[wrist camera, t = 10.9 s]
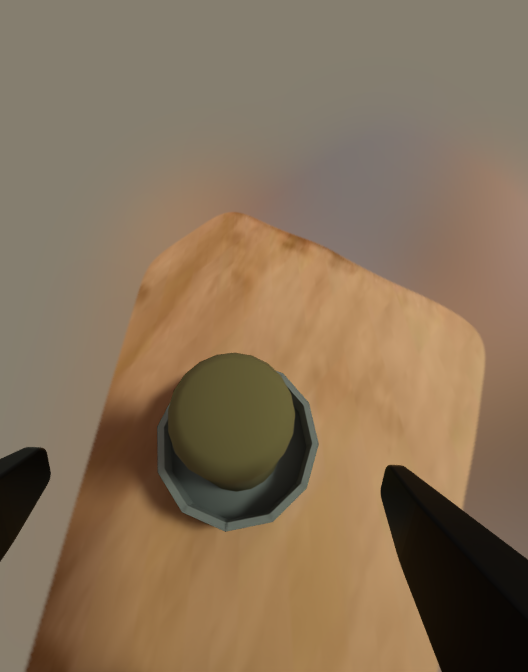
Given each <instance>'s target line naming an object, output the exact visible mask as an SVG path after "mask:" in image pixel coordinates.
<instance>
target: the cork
mask: <svg viewBox="0 0 528 672" xmlns="http://www.w3.org/2000/svg"><path fill="white" fill-rule="evenodd" d="M294 420H295V411H294V406H293V401H292V396H291V393H290V391H289V389H288V387H287V386H286V384H285V382H284V380H283V378H282V377H281V375H280V374H279V373H277V372H276V371H275V370H274V369H273V368H272V367H271V366H270V365H269V364H268V363H266V362H264V361H262V360H260V359H258V358H256V357H254V356H251V355H245V354H239V353H228V354H220V355H215V356H213V357H211V358H208V359H206V360H204V361H201V362H199V363H198V364H197V365H196V366H194V367H193V368H192V369H191V370H190V371H188V372H187V373H186V374H185V375H184V376H183V378H182V379H181V381H180V382H179V384H178V385H177V387H176V388H175V390H174V392H173V395H172V399H171V402H170V405H169V408H168V433H169V436H170V439H171V442H172V445H173V448H174V450H175V453H176V454H177V455H178V457H179V458H180V459H181V460H182V462H183V463H184V464H185V465H186V467H187V468H188V469H189V470H191V471H192V472H194V473H196V474H198V475H199V476H201V477H203V478H204V479H206V480H209V481H210V482H211V483H213V484H215V485H216V486H218V487H220V488H221V489H225V490H230V491H236V492H238V491H243V490H249V489H252V488H254V487H256V486H258V485H259V484H261V483H263V482H264V481H265V480H266V479H267V478H268V477H269V476H270V475H271V473H272V472H273V471H274V469H275V467H276V465H277V463H278V460H279V459H280V458H281V457H282V456H283V454H284V453H285V451H286V449H287V446H288V444H289V442H290V440H291V437H292V435H293V429H294Z"/></svg>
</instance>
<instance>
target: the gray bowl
mask: <svg viewBox="0 0 528 672" xmlns="http://www.w3.org/2000/svg"><path fill="white" fill-rule="evenodd" d="M276 372H277V373H279V374H280V375H281V377H282V378H283V380H284V382H285V384H286V386H287V387H288V389H289V391H290V393H291V396H292V401H293V406H294V411H295V420H294V429H293V435H292V437H291V440H290V442H289V444H288V446H287V449H286V451H285V453H284V454H283V456H282V457H281V458H280V459H279V460H278V463H277V465H276V467H275V469H274V471H273V472H272V473H271V475H270V476H269V477H268V478H267V479H266V480H265V481H264V482H263V483H261V484H259V485H258V486H256V487H254V488H252V489H249V490H243V491H238V492H236V491H230V490H225V489H221V488H220V487H218V486H216V485H215V484H213V483H211V482H210V481H209V480H206V479H204V478H203V477H201V476H199V475H198V474H196V473H194V472H192V471H191V470H189V469H188V468H187V467H186V465H185V464H184V463H183V462H182V460H181V459H180V458H179V457H178V455H177V454H176V453H175V450H174V448H173V445H172V442H171V439H170V436H169V433H168V408H169V406H168V407H167V409H166V411H165V413H164V415H163V417H162V419H161V421H160V423H159V425H158V426H157V444H158V474H159V475H160V477H161V478H162V480H163V482H164V483H165V485H166V487H167V488H168V490H169V492H170V493H171V495H172V496H173V498H174V500H175V501H176V503H177V505H178V506H179V508H180V509H181V511H182V512H183V513H185V514H187V515H189V516H192V517H194V518H196V519H198V520H201V521H203V522H205V523H207V524H210V525H212V526H214V527H216V528H219V529H221V530H223V531H225V532H226V531H231V530H236V529H241V528H246V527H250V526H255V525H260V524H265V523H270V522H273V521H274V520H275V519H276V518H277V517H278V516H279V515H280V514H281V513H282V512H283V511H284V510H285V509H286V508H287V507H288V506H289V505H290V504H291V503H292V502H293V501H294V500H295V499H296V498H297V497H298V496H299V495H300V494H301V493H302V492H303V491H304V490H305V489H306V488H307V485H308V481H309V478H310V474H311V470H312V467H313V463H314V459H315V456H316V452H317V448H318V444H319V443H318V439H317V435H316V431H315V427H314V422H313V418H312V414H311V410H310V405H309V402H308V401H307V400H306V399H305V398H304V397H303V396H302V394H301V393H300V392H299V391H298V390H297V389H296V388H295V386H294V385H293V384H292V383H291V382H290V381H289V380H288V379H287V377H286V376H285V375H284V374H283V373H281V372H278V371H276ZM169 405H170V404H169Z"/></svg>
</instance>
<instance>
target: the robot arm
mask: <svg viewBox="0 0 528 672" xmlns="http://www.w3.org/2000/svg"><path fill="white" fill-rule="evenodd" d="M50 475H51V472H50V466H49V462H48V457H47V452H46V450H45V449H44V448H39V447H26V448H23V449H21V450H19V451H17V452H15V453H12V454H10V455H8V456H6V457H4V458H1V459H0V561H1V560H2V558H3V557H4V555H5V554H6V552H7V551H8V549H9V548H10V546H11V545H12V543H13V542H14V540H15V539H16V537H17V535H18V534H19V532H20V530H21V529H22V527H23V525H24V523H25V522H26V520H27V518H28V517H29V515H30V513H31V512H32V510H33V508H34V506H35V505H36V503H37V501H38V499H39V498H40V496H41V494H42V493H43V491H44V489H45V488H46V486H47V484H48V482H49V480H50ZM381 499H382V502H383V506H384V509H385V513H386V517H387V520H388V524H389V527H390V531H391V534H392V538H393V541H394V545H395V548H396V552H397V555H398V558H399V561H400V564H401V567H402V570H403V573H404V575H405V578H406V580H407V583H408V586H409V588H410V591H411V593H412V596H413V599H414V601H415V604H416V606H417V609H418V611H419V614H420V617H421V619H422V622H423V624H424V627H425V630H426V632H427V635H428V637H429V640H430V643H431V645H432V648H433V650H434V653H435V656H436V658H437V661H438V663H439V666H440V669H441V671H442V672H528V560H527V559H526V558H525V557H524V556H522V555H521V554H520V553H518V552H517V551H516V550H514V549H513V548H512V547H510V546H509V545H508V544H506V543H505V542H504V541H502V540H501V539H500V538H499V537H497V536H496V535H495V534H493V533H492V532H491V531H489V530H488V529H486V528H485V527H484V526H483V525H481V524H480V523H478V522H477V521H476V520H475V519H473V518H472V517H470V516H469V515H468V514H467V513H465V512H464V511H463V510H461V509H460V508H459V507H458V506H456V505H455V504H454V503H452V502H451V501H450V500H448V499H447V498H446V497H444V496H443V495H442V494H440V493H439V492H438V491H436V490H435V489H434V488H432V487H431V486H430V485H428V484H427V483H426V482H424V481H423V480H422V479H420V478H419V477H418V476H416V475H415V474H414V473H412V472H411V471H410V470H409V469H407V468H406V467H404V466H401V465H388V466H387V467H386V469H385V473H384V477H383V481H382V486H381Z"/></svg>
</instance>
